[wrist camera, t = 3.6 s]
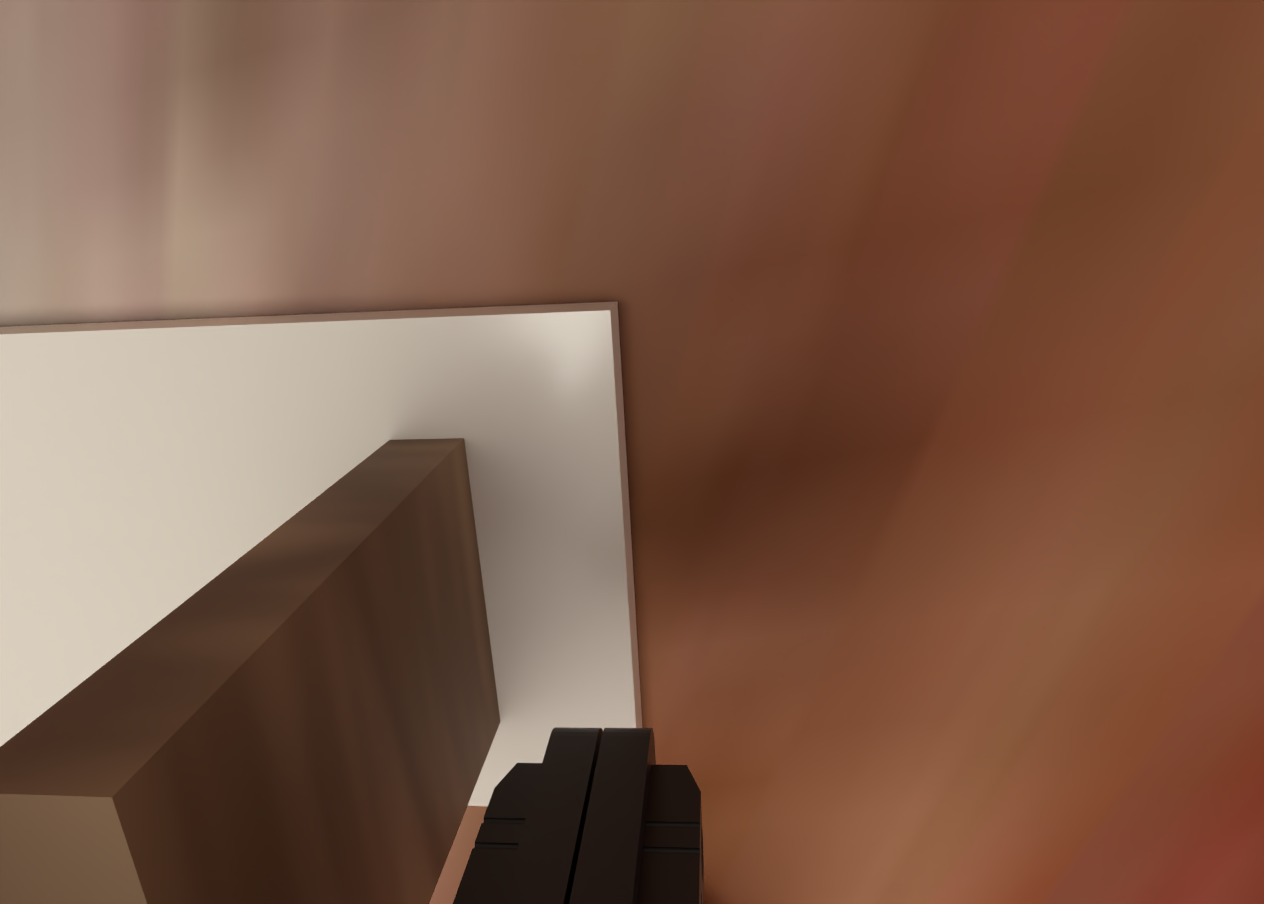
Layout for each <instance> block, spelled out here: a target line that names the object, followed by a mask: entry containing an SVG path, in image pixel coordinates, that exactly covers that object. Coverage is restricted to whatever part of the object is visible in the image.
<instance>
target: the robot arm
mask: <svg viewBox="0 0 1264 904" xmlns="http://www.w3.org/2000/svg"><path fill="white" fill-rule="evenodd" d="M453 904H704V861H703V837H702V812H701V791H700V789H699V788H698V786H697V784H696V782H695V780H694V778H693V776H692V774H691V772H690V771H689V769H688V767H687V765H656V761H655V745H654V733H653V729H652V728H604V730H602V728H569V727H555V728H553V730H552V732H551V734H550V738H549V741H548V745H547V748H546V752H545V755H544V758H543V762H542V763H517V764H516V765H515V766H514V767H513V768H512V769H511V770H510V771H509V772H508V773H507V775H506V776H505V777H504V778H503V779H502V780H501V781H500V782H499V783H498V785H497V786H496V787H495V788H494V791H493V793H492V796H491V799H490V802H489V805H488V807H487V810H486V813H485V816H484V823H482V824H481V827H480V830H479V832H478V835H477V838H476V841H475V848H473V849H472V852H471V855H470V858H469V860H468V863H467V866H466V869H465V871H464V874H463V877H462V880H461V883H460V885H459V888H458V891H457V894H456V897H455V899H454V902H453Z"/></svg>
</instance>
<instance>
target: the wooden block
mask: <svg viewBox="0 0 1264 904" xmlns="http://www.w3.org/2000/svg"><path fill="white" fill-rule="evenodd" d="M499 724H500V714H499V706H498V698H497V691H496V683H495V675H494V667H493V659H492V652H491V644H490V636H489V628H488V620H487V613H486V605H485V597H484V589H483V581H482V574H481V566H480V558H479V550H478V542H477V535H476V527H475V519H474V511H473V503H472V496H471V488H470V480H469V472H468V464H467V457H466V449H465V441H464V438H447V439H402V440H389V441H387V442H386V443H385V444H384V445H382V446H381V447H380V448H379V449H377V450H376V451H375V452H374V453H372V454H371V455H370V456H368V457H367V458H366V459H365V460H363V461H362V462H361V463H360V464H358V465H357V466H356V467H354V468H353V469H352V470H351V471H349V472H348V473H347V474H346V475H344V476H343V477H342V478H341V479H339V480H338V481H337V482H335V483H334V484H333V485H332V486H330V487H329V488H328V489H327V490H325V491H324V492H323V493H322V494H320V495H319V496H318V497H316V498H315V499H314V500H313V501H311V502H310V503H309V504H308V505H306V506H305V507H304V508H303V509H301V510H300V511H299V512H297V513H296V514H295V515H294V516H292V517H291V518H290V519H289V520H287V521H286V522H285V523H283V524H282V525H281V526H280V527H278V528H277V529H276V530H275V531H273V532H272V533H271V534H270V535H268V536H267V537H266V538H264V539H263V540H262V541H261V542H259V543H258V544H257V545H256V546H254V547H253V548H252V549H251V550H249V551H248V552H247V553H245V554H244V555H243V556H242V557H240V558H239V559H238V560H237V561H235V562H234V563H233V564H231V565H230V566H229V567H228V568H226V569H225V570H224V571H223V572H221V573H220V574H219V575H218V576H216V577H215V578H214V579H212V580H211V581H210V582H209V583H207V584H206V585H205V586H204V587H202V588H201V589H200V590H199V591H197V592H196V593H195V594H193V595H192V596H191V597H190V598H188V599H187V600H186V601H185V602H183V603H182V604H181V605H180V606H178V607H177V608H176V609H174V610H173V611H172V612H171V613H169V614H168V615H167V616H166V617H164V618H163V619H162V620H160V621H159V622H158V623H157V624H155V625H154V626H153V627H152V628H150V629H149V630H148V631H147V632H145V633H144V634H143V635H141V636H140V637H139V638H138V639H136V640H135V641H134V642H133V643H131V644H130V645H129V646H128V647H126V648H125V649H124V650H122V651H121V652H120V653H119V654H117V655H116V656H115V657H114V658H112V659H111V660H110V661H109V662H107V663H106V664H105V665H103V666H102V667H101V668H100V669H98V670H97V671H96V672H95V673H93V674H92V675H91V676H89V677H88V678H87V679H86V680H84V681H83V682H82V683H81V684H79V685H78V686H77V687H76V688H74V689H73V690H72V691H70V692H69V693H68V694H67V695H65V696H64V697H63V698H62V699H60V700H59V701H58V702H57V703H55V704H54V705H53V706H51V707H50V708H49V709H48V710H46V711H45V712H44V713H43V714H41V715H40V716H39V717H38V718H36V719H35V720H34V721H32V722H31V723H30V724H29V725H27V726H26V727H25V728H24V729H22V730H21V731H20V732H18V733H17V734H16V735H15V736H13V737H12V738H11V739H10V740H8V741H7V742H6V743H5V744H3V745H2V746H1V747H0V904H429V902H430V900H431V897H432V895H433V892H434V889H435V887H436V884H437V882H438V879H439V877H440V874H441V872H442V869H443V867H444V864H445V861H446V859H447V856H448V854H449V851H450V849H451V846H452V844H453V841H454V839H455V836H456V834H457V831H458V828H459V826H460V823H461V821H462V818H463V816H464V813H465V811H466V808H467V806H468V803H469V800H470V798H471V795H472V793H473V790H474V788H475V785H476V783H477V780H478V778H479V775H480V773H481V770H482V767H483V765H484V762H485V760H486V757H487V755H488V752H489V750H490V747H491V745H492V742H493V739H494V737H495V734H496V732H497V729H498V727H499Z"/></svg>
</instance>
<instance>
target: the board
mask: <svg viewBox="0 0 1264 904" xmlns="http://www.w3.org/2000/svg"><path fill="white" fill-rule="evenodd" d="M447 438H464V441H465V449H466V457H467V464H468V472H469V480H470V488H471V496H472V503H473V511H474V519H475V527H476V535H477V542H478V550H479V558H480V566H481V574H482V581H483V589H484V597H485V605H486V613H487V620H488V628H489V636H490V644H491V652H492V659H493V667H494V675H495V683H496V691H497V698H498V706H499V714H500V724H499V727H498V729H497V732H496V734H495V737H494V739H493V742H492V745H491V747H490V750H489V752H488V755H487V757H486V760H485V762H484V765H483V767H482V770H481V773H480V775H479V778H478V780H477V783H476V785H475V788H474V790H473V793H472V795H471V798H470V800H469V803H468V806H488V805H489V802H490V799H491V796H492V793H493V791H494V788H495V787H496V786H497V785H498V783H499V782H500V781H501V780H502V779H503V778H504V777H505V776H506V775H507V773H508V772H509V771H510V770H511V769H512V768H513V767H514V766H515V765H516V764H517V763H542V762H543V758H544V755H545V752H546V748H547V745H548V741H549V738H550V734H551V732H552V730H553V728H555V727H569V728H602V730H604V728H642V711H641V694H640V677H639V660H638V643H637V626H636V609H635V592H634V575H633V558H632V541H631V524H630V507H629V490H628V473H627V456H626V439H625V422H624V405H623V388H622V371H621V353H620V336H619V319H618V302H594V303H569V304H545V305H520V306H496V307H471V308H447V309H422V310H397V311H373V312H348V313H324V314H299V315H275V316H250V317H226V318H201V319H177V320H152V321H128V322H103V323H78V324H54V325H29V326H5V327H0V747H1V746H2V745H3V744H5V743H6V742H7V741H8V740H10V739H11V738H12V737H13V736H15V735H16V734H17V733H18V732H20V731H21V730H22V729H24V728H25V727H26V726H27V725H29V724H30V723H31V722H32V721H34V720H35V719H36V718H38V717H39V716H40V715H41V714H43V713H44V712H45V711H46V710H48V709H49V708H50V707H51V706H53V705H54V704H55V703H57V702H58V701H59V700H60V699H62V698H63V697H64V696H65V695H67V694H68V693H69V692H70V691H72V690H73V689H74V688H76V687H77V686H78V685H79V684H81V683H82V682H83V681H84V680H86V679H87V678H88V677H89V676H91V675H92V674H93V673H95V672H96V671H97V670H98V669H100V668H101V667H102V666H103V665H105V664H106V663H107V662H109V661H110V660H111V659H112V658H114V657H115V656H116V655H117V654H119V653H120V652H121V651H122V650H124V649H125V648H126V647H128V646H129V645H130V644H131V643H133V642H134V641H135V640H136V639H138V638H139V637H140V636H141V635H143V634H144V633H145V632H147V631H148V630H149V629H150V628H152V627H153V626H154V625H155V624H157V623H158V622H159V621H160V620H162V619H163V618H164V617H166V616H167V615H168V614H169V613H171V612H172V611H173V610H174V609H176V608H177V607H178V606H180V605H181V604H182V603H183V602H185V601H186V600H187V599H188V598H190V597H191V596H192V595H193V594H195V593H196V592H197V591H199V590H200V589H201V588H202V587H204V586H205V585H206V584H207V583H209V582H210V581H211V580H212V579H214V578H215V577H216V576H218V575H219V574H220V573H221V572H223V571H224V570H225V569H226V568H228V567H229V566H230V565H231V564H233V563H234V562H235V561H237V560H238V559H239V558H240V557H242V556H243V555H244V554H245V553H247V552H248V551H249V550H251V549H252V548H253V547H254V546H256V545H257V544H258V543H259V542H261V541H262V540H263V539H264V538H266V537H267V536H268V535H270V534H271V533H272V532H273V531H275V530H276V529H277V528H278V527H280V526H281V525H282V524H283V523H285V522H286V521H287V520H289V519H290V518H291V517H292V516H294V515H295V514H296V513H297V512H299V511H300V510H301V509H303V508H304V507H305V506H306V505H308V504H309V503H310V502H311V501H313V500H314V499H315V498H316V497H318V496H319V495H320V494H322V493H323V492H324V491H325V490H327V489H328V488H329V487H330V486H332V485H333V484H334V483H335V482H337V481H338V480H339V479H341V478H342V477H343V476H344V475H346V474H347V473H348V472H349V471H351V470H352V469H353V468H354V467H356V466H357V465H358V464H360V463H361V462H362V461H363V460H365V459H366V458H367V457H368V456H370V455H371V454H372V453H374V452H375V451H376V450H377V449H379V448H380V447H381V446H382V445H384V444H385V443H386V442H387V441H389V440H402V439H447Z"/></svg>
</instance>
